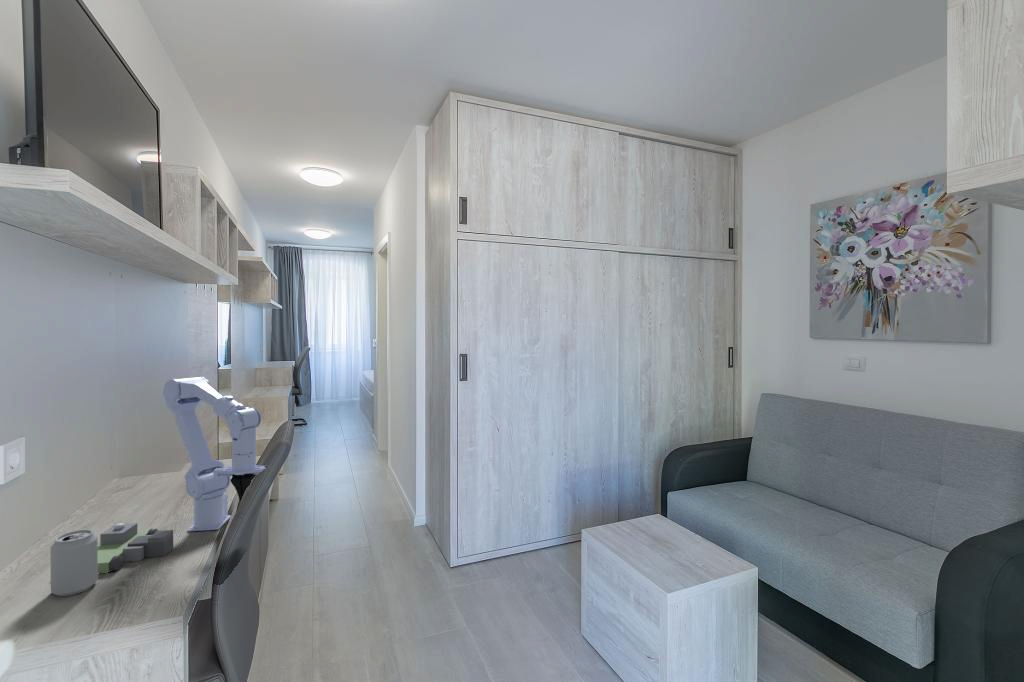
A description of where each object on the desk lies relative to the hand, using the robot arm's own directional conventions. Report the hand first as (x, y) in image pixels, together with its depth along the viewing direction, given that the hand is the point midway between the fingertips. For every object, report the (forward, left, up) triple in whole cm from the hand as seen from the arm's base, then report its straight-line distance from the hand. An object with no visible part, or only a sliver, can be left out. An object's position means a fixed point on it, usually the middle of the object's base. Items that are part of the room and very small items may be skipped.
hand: (243, 501), depth 129 cm
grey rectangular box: (+8, -19, -9) cm, 22 cm away
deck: (+8, -26, -9) cm, 29 cm away
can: (+23, -26, -10) cm, 36 cm away
